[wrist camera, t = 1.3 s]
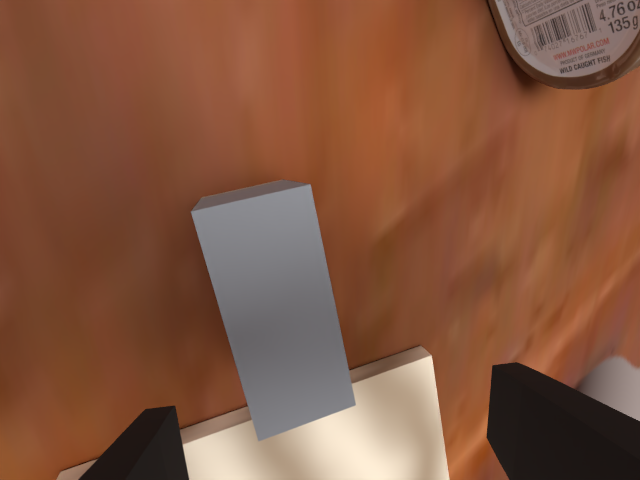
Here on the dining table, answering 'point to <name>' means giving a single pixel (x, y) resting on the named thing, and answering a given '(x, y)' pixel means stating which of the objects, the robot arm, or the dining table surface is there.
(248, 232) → the block
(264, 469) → the pine board
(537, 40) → the tin
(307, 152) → the dining table surface
